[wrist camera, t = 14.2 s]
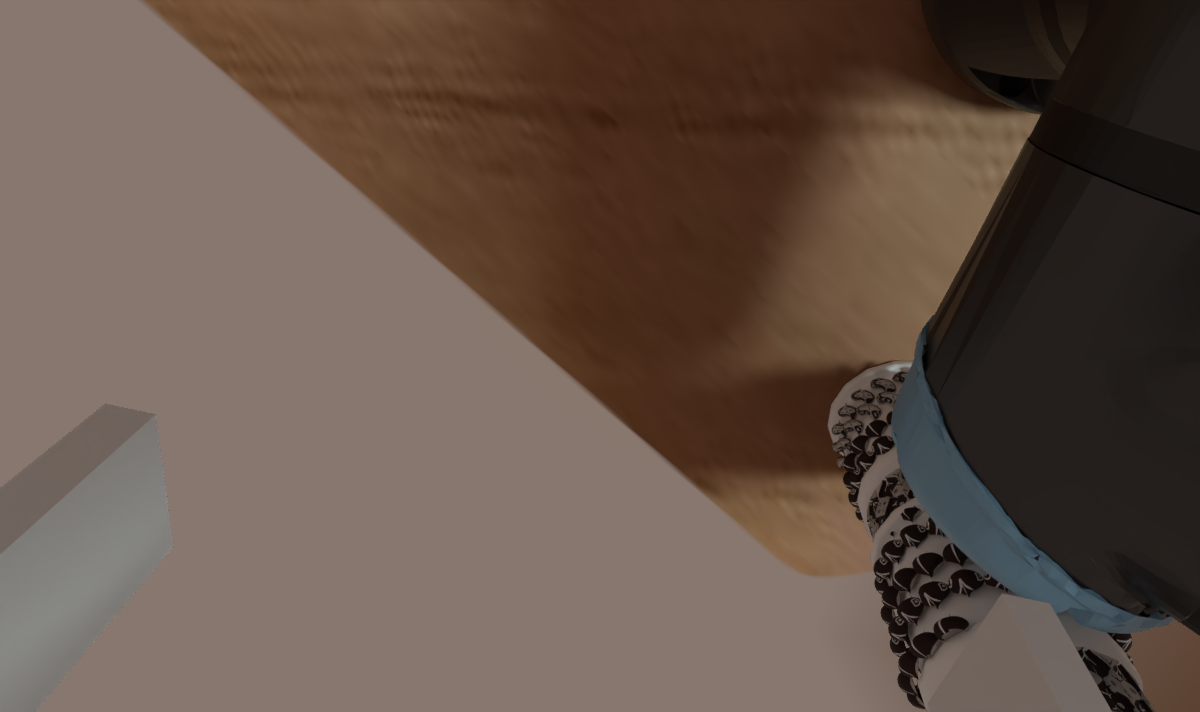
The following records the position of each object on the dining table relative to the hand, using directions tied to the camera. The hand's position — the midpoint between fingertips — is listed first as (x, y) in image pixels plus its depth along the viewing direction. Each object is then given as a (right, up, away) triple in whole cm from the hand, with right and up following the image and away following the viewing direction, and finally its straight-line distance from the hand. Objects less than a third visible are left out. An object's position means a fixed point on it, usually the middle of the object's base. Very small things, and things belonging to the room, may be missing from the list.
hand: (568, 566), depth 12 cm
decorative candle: (+19, -1, +35) cm, 40 cm away
